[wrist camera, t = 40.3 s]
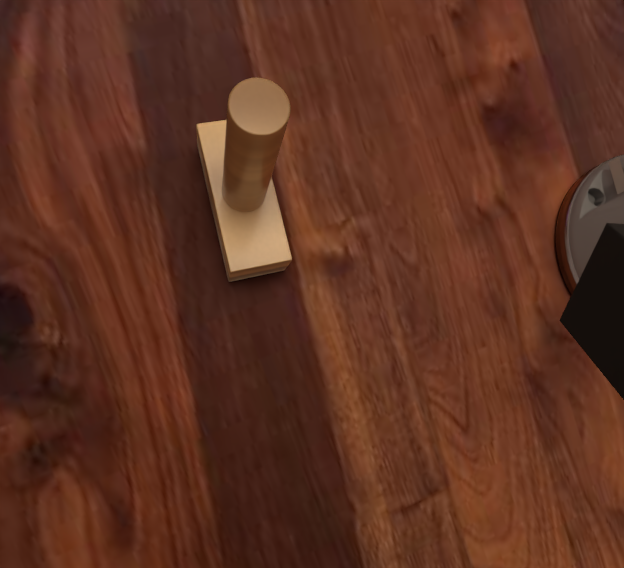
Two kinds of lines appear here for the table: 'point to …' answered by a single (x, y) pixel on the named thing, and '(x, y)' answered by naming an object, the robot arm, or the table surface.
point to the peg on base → (247, 178)
